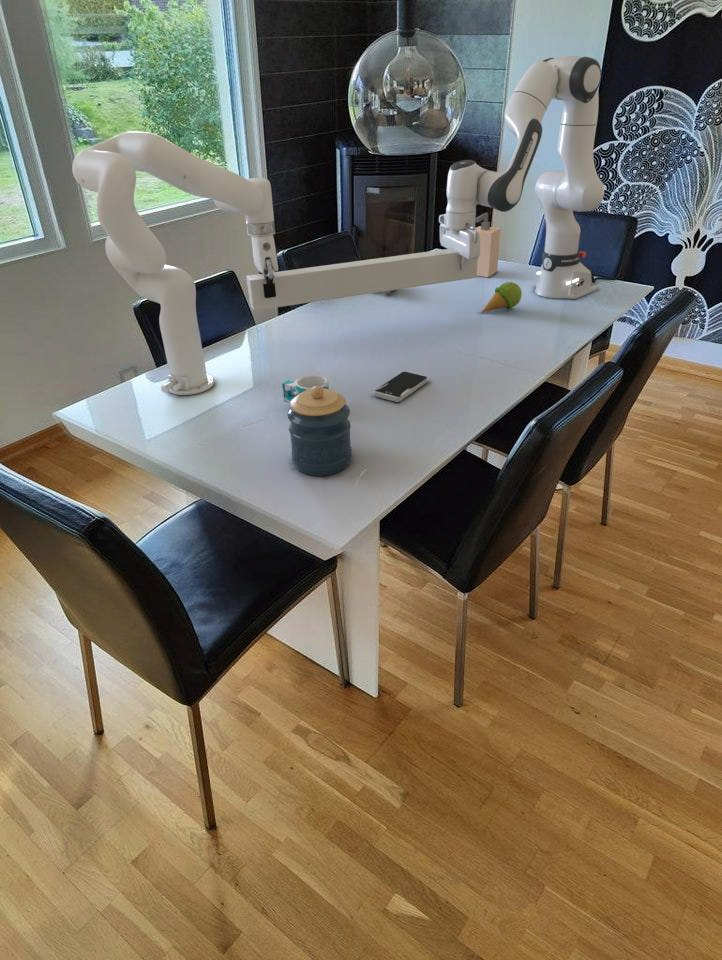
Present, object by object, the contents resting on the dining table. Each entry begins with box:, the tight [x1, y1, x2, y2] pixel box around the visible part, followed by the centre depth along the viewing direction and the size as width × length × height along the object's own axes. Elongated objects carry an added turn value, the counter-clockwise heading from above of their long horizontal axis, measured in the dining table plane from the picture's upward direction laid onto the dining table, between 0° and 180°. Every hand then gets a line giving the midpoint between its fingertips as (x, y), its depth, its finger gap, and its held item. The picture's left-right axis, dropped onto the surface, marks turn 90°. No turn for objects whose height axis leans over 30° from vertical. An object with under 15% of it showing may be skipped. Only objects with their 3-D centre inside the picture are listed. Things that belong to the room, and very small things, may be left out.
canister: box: [287, 386, 353, 476], centre depth 141 cm, size 13×13×18 cm
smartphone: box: [373, 371, 428, 403], centre depth 174 cm, size 8×1×15 cm
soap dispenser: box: [475, 212, 501, 278], centre depth 252 cm, size 13×9×22 cm
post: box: [246, 248, 478, 312], centre depth 200 cm, size 71×5×9 cm, turn 110°
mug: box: [281, 374, 330, 404], centre depth 164 cm, size 8×12×8 cm
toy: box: [481, 281, 523, 313], centre depth 221 cm, size 9×9×15 cm
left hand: (267, 293), depth 192 cm, fingers closed on post, 5 cm apart
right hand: (458, 267), depth 209 cm, fingers closed on post, 5 cm apart
